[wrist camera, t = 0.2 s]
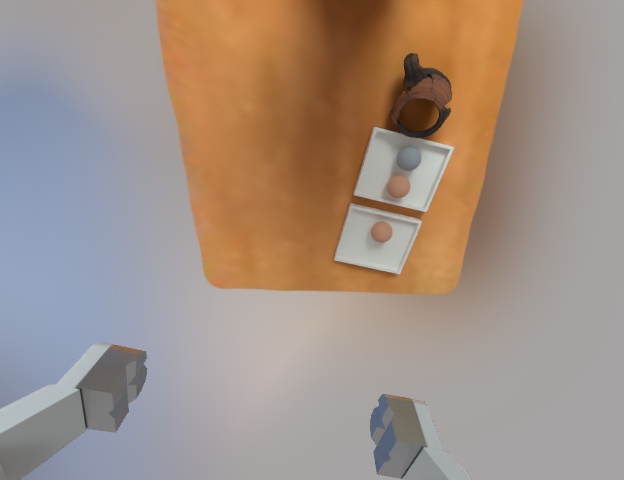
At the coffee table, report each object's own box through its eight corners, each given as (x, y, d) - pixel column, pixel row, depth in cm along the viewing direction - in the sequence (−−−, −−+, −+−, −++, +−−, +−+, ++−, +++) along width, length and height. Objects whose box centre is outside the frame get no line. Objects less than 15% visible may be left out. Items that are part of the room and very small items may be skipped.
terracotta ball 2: (389, 170, 53) (394, 176, 50) (410, 175, 54) (416, 181, 50) (381, 191, 55) (386, 198, 51) (402, 196, 55) (408, 203, 52)
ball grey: (398, 142, 51) (404, 145, 48) (420, 148, 52) (428, 151, 48) (391, 165, 53) (396, 170, 49) (412, 170, 53) (419, 175, 50)
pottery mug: (459, 101, 49) (460, 129, 45) (404, 124, 55) (399, 151, 50) (436, 28, 43) (434, 52, 38) (375, 63, 48) (367, 87, 43)
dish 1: (373, 125, 51) (375, 127, 49) (450, 145, 52) (454, 147, 50) (353, 192, 56) (354, 195, 54) (423, 209, 57) (426, 212, 55)
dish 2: (350, 202, 57) (351, 205, 55) (419, 218, 58) (422, 221, 56) (333, 255, 62) (334, 260, 60) (397, 269, 63) (399, 274, 61)
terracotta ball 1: (373, 216, 57) (376, 224, 54) (393, 220, 58) (397, 229, 54) (366, 234, 59) (369, 243, 55) (386, 239, 59) (390, 248, 56)
